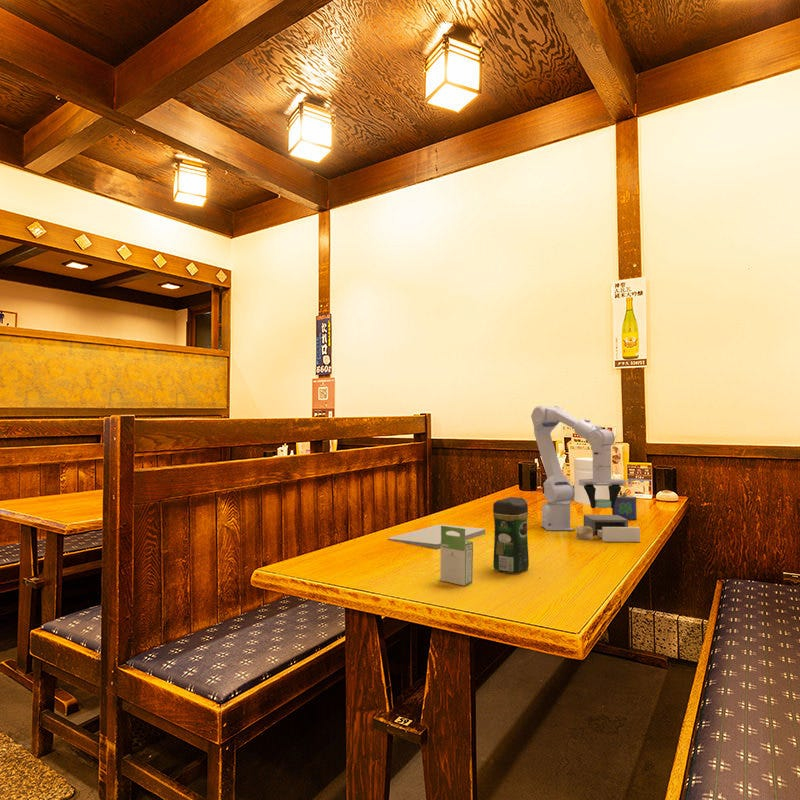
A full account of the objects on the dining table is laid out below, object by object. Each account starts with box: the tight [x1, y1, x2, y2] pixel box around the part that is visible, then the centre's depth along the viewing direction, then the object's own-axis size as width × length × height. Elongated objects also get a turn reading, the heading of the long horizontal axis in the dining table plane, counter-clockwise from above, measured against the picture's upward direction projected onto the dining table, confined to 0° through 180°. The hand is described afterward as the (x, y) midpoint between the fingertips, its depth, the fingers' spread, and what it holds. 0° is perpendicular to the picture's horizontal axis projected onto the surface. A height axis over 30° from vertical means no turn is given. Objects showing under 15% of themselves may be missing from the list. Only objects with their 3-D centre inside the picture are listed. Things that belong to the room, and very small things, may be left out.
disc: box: [595, 499, 611, 509], centre depth 176 cm, size 6×6×2 cm
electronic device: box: [387, 524, 486, 550], centre depth 179 cm, size 29×20×2 cm
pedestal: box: [576, 525, 594, 541], centre depth 177 cm, size 4×4×4 cm
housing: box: [583, 514, 629, 536], centre depth 186 cm, size 12×9×5 cm
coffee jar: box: [492, 496, 530, 574], centre depth 141 cm, size 10×8×19 cm
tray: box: [596, 526, 641, 543], centre depth 176 cm, size 12×9×4 cm
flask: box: [611, 491, 638, 521], centre depth 210 cm, size 9×3×11 cm, turn 88°
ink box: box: [439, 525, 474, 587], centre depth 130 cm, size 7×4×13 cm, turn 52°
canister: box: [573, 457, 610, 505], centre depth 253 cm, size 16×16×20 cm
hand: (602, 507), depth 177 cm, fingers closed on disc, 5 cm apart
